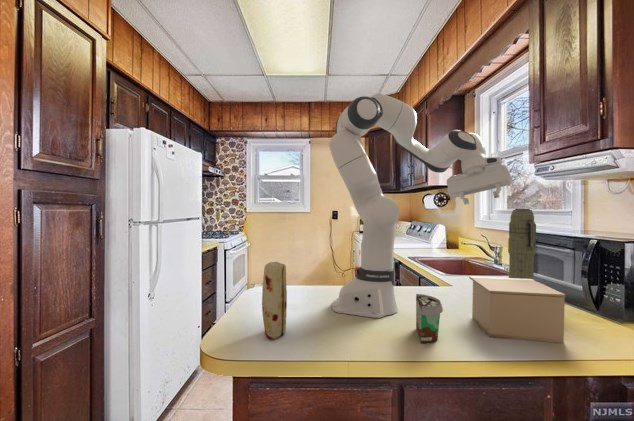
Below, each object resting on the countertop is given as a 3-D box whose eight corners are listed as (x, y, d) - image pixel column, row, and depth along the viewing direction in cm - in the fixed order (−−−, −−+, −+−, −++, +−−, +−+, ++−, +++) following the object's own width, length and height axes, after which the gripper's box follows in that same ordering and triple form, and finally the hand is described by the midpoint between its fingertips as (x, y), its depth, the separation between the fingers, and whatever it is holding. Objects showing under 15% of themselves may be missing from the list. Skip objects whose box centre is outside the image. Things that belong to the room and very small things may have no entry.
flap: (489, 292, 82) (489, 290, 82) (469, 278, 98) (469, 276, 98) (565, 296, 78) (565, 294, 78) (531, 280, 95) (531, 278, 95)
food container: (447, 348, 75) (447, 308, 75) (421, 346, 76) (422, 307, 76) (437, 328, 87) (438, 294, 87) (415, 326, 88) (416, 293, 88)
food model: (264, 327, 87) (265, 259, 87) (287, 327, 87) (288, 259, 87) (259, 343, 77) (259, 265, 77) (285, 342, 78) (285, 265, 77)
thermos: (517, 292, 124) (518, 208, 124) (543, 301, 113) (545, 208, 112) (498, 293, 123) (500, 208, 122) (524, 303, 111) (526, 208, 110)
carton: (489, 337, 82) (490, 293, 82) (472, 318, 96) (472, 280, 95) (563, 342, 79) (564, 297, 79) (534, 322, 92) (535, 283, 92)
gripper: (443, 173, 114) (446, 202, 107) (505, 155, 103) (513, 187, 95) (448, 182, 118) (452, 211, 111) (508, 166, 107) (516, 198, 99)
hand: (481, 200), depth 103 cm, fingers open, 8 cm apart
